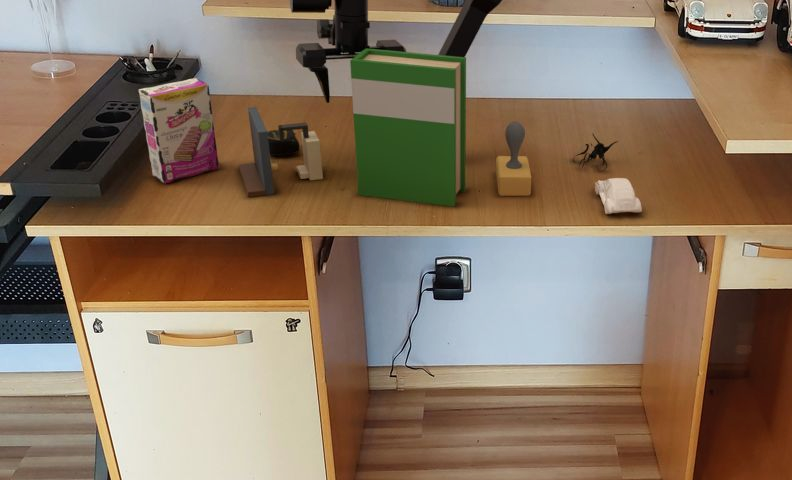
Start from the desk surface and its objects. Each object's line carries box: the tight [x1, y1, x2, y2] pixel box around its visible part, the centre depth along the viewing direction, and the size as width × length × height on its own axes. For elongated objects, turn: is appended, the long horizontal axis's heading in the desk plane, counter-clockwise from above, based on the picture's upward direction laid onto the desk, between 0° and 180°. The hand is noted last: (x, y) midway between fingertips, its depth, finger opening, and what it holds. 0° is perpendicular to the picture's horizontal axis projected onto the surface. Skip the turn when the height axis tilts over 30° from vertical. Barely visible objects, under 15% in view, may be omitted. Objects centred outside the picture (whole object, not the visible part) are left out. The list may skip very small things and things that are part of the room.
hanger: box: [277, 122, 324, 181], centre depth 164 cm, size 7×5×10 cm
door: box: [237, 106, 279, 198], centre depth 161 cm, size 6×13×12 cm, turn 21°
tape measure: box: [267, 129, 300, 156], centre depth 175 cm, size 7×7×4 cm
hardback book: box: [349, 48, 467, 208], centre depth 155 cm, size 18×7×24 cm, turn 77°
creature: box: [572, 132, 619, 172], centre depth 174 cm, size 8×5×8 cm
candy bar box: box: [137, 77, 220, 184], centre depth 162 cm, size 11×5×16 cm, turn 134°
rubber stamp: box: [495, 121, 532, 197], centre depth 162 cm, size 10×6×12 cm, turn 3°
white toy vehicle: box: [594, 177, 643, 215], centre depth 159 cm, size 12×6×5 cm, turn 9°
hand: (352, 100), depth 164 cm, fingers open, 9 cm apart
